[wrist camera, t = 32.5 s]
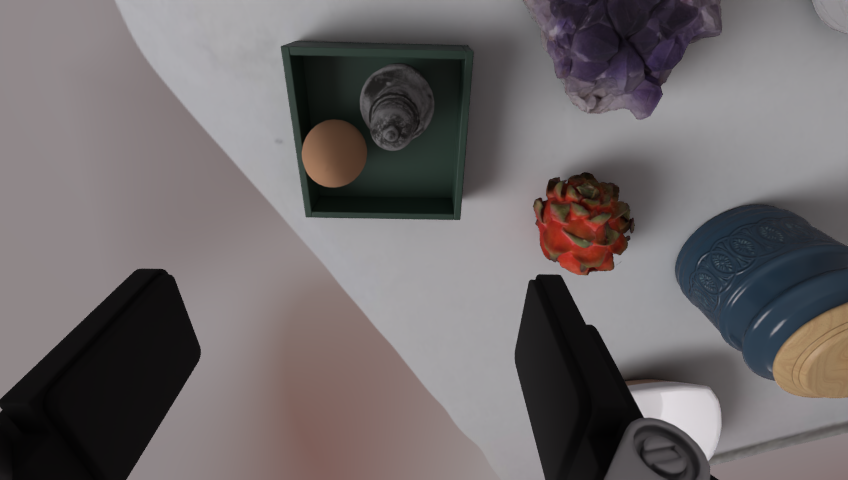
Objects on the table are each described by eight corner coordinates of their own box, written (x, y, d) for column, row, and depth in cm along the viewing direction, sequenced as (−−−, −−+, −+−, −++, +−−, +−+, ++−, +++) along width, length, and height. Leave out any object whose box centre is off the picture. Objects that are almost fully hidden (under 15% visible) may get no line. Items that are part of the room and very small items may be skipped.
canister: (685, 208, 41) (839, 331, 26) (817, 194, 40) (1055, 311, 25) (661, 305, 48) (772, 447, 33) (774, 294, 47) (942, 434, 32)
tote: (315, 198, 40) (305, 217, 37) (295, 40, 33) (280, 46, 29) (456, 200, 40) (460, 220, 37) (468, 45, 33) (473, 50, 29)
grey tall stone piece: (426, 135, 36) (429, 189, 26) (362, 124, 36) (338, 175, 25) (439, 66, 33) (447, 97, 23) (368, 52, 33) (345, 78, 22)
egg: (305, 118, 35) (277, 147, 29) (360, 103, 35) (346, 129, 28) (326, 172, 38) (306, 209, 31) (378, 159, 37) (369, 194, 31)
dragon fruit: (549, 146, 39) (582, 228, 46) (497, 207, 37) (540, 283, 44) (635, 153, 32) (659, 247, 39) (577, 227, 30) (613, 313, 37)
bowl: (696, 437, 62) (717, 472, 57) (555, 462, 65) (565, 497, 60) (701, 341, 51) (728, 374, 46) (533, 377, 54) (543, 411, 50)
